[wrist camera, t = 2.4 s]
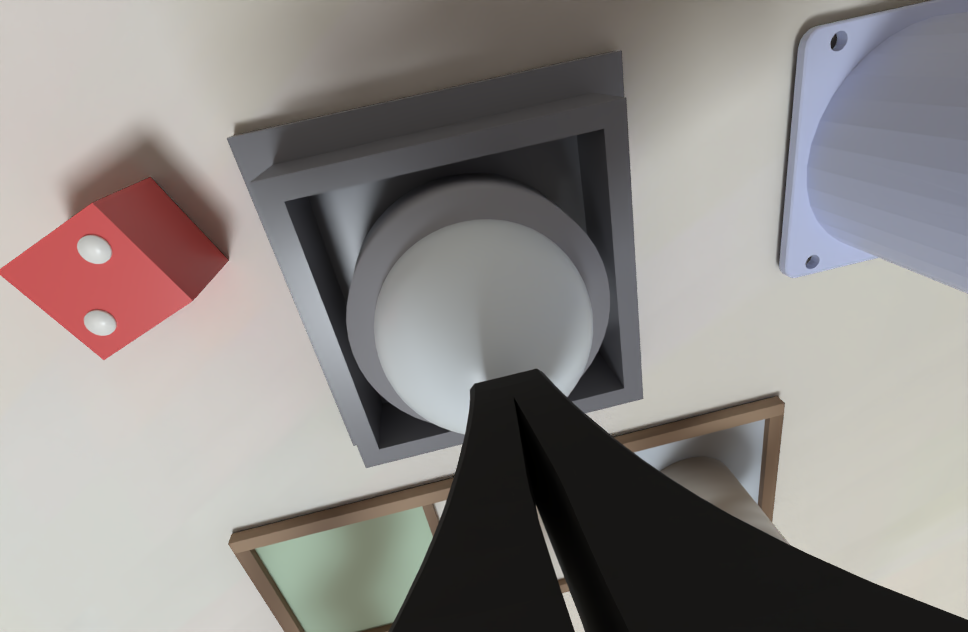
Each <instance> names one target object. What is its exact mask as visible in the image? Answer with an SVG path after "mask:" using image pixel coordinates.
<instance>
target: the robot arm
mask: <svg viewBox="0 0 968 632" xmlns="http://www.w3.org/2000/svg"><path fill="white" fill-rule="evenodd" d="M835 33H836V35H837V42H836V45H835V46H834V48H833V49H831V45H830V42H831V39H832V37H833V36H834V35H835ZM810 256H812V257H811V260H810V261H809V262H808V263H807V264H805V263H806V261H807V259H808V258H809V257H810ZM875 258H881V259H884V260H886V261H889V262H891V263H894V264H896V265H899V266H901V267H904V268H906V269H908V270H911V271H913V272H916V273H918V274H921V275H923V276H926V277H928V278H931V279H933V280H936V281H938V282H941V283H943V284H945V285H948V286H950V287H953V288H955V289H958V290H960V291H963V292H965V293H968V0H931V1H926V2H922V3H917V4H913V5H908V6H904V7H899V8H895V9H890V10H886V11H881V12H877V13H872V14H868V15H863V16H859V17H854V18H850V19H846V20H841V21H837V22H832V23H828V24H823V25H819V26H815V27H813V28H811V29H809V30H808V31H807V32H806V33H805V34H804V35H803V37H802V39H801V40H800V43H799V47H798V55H797V66H796V78H795V89H794V101H793V112H792V124H791V135H790V147H789V158H788V170H787V181H786V193H785V204H784V216H783V227H782V239H781V250H780V262H779V267H780V271H781V272H782V273H783V274H785V275H787V276H789V277H791V278H797V277H801V276H805V275H809V274H813V273H817V272H822V271H826V270H830V269H834V268H838V267H842V266H846V265H850V264H854V263H859V262H863V261H867V260H871V259H875ZM536 506H537V509H538V512H539V514H540V517H541V519H542V522H543V524H544V527H545V529H546V532H547V535H548V537H549V540H550V542H551V545H552V547H553V550H554V552H555V555H556V557H557V560H558V563H559V565H560V568H561V570H562V573H563V575H564V578H565V580H566V583H567V585H568V588H569V590H570V593H571V595H572V598H573V601H574V603H575V606H576V608H577V611H578V613H579V616H580V618H581V621H582V624H583V627H584V630H585V632H968V620H967V619H964V618H961V617H959V616H956V615H954V614H951V613H949V612H946V611H944V610H941V609H938V608H936V607H933V606H931V605H928V604H926V603H923V602H921V601H918V600H915V599H913V598H910V597H908V596H905V595H903V594H900V593H898V592H895V591H892V590H890V589H887V588H885V587H882V586H880V585H877V584H875V583H872V582H870V581H868V580H865V579H863V578H861V577H859V576H856V575H854V574H852V573H850V572H847V571H845V570H843V569H841V568H838V567H836V566H834V565H832V564H830V563H827V562H825V561H823V560H821V559H818V558H816V557H814V556H812V555H809V554H807V553H805V552H803V551H801V550H799V549H797V548H795V547H793V546H791V545H789V544H787V543H785V542H783V541H781V540H779V539H777V538H775V537H773V536H771V535H769V534H768V533H766V532H764V531H762V530H760V529H758V528H756V527H754V526H752V525H750V524H748V523H746V522H744V521H742V520H740V519H738V518H736V517H734V516H732V515H731V514H729V513H727V512H725V511H724V510H722V509H720V508H718V507H717V506H715V505H713V504H712V503H710V502H708V501H706V500H705V499H703V498H701V497H700V496H698V495H696V494H695V493H693V492H691V491H690V490H688V489H687V488H685V487H683V486H682V485H680V484H679V483H677V482H675V481H674V480H672V479H671V478H669V477H668V476H666V475H665V474H663V473H662V472H660V471H659V470H657V469H656V468H654V467H653V466H652V465H650V464H649V463H647V462H646V461H644V460H643V459H642V458H640V457H639V456H638V455H636V454H635V453H634V452H632V451H631V450H629V449H628V448H627V447H625V446H624V445H623V444H621V443H620V442H619V441H618V440H616V439H615V438H614V437H612V436H611V435H610V434H609V433H607V432H606V431H605V430H604V429H603V428H602V427H600V426H599V425H598V424H597V423H596V422H594V421H593V420H592V419H591V418H590V417H588V416H587V415H586V414H585V413H584V412H583V411H582V410H580V409H579V408H578V407H577V406H576V405H575V404H574V403H573V402H572V401H571V400H570V399H569V398H567V397H566V396H565V395H564V394H563V393H562V392H561V391H560V390H559V389H558V388H557V387H556V386H555V385H554V384H553V383H552V382H551V380H550V379H549V378H548V377H547V376H546V375H545V374H544V373H543V372H542V371H540V370H539V369H532V370H528V371H524V372H520V373H516V374H512V375H508V376H504V377H500V378H495V379H491V380H487V381H483V382H479V383H475V384H474V385H473V386H472V387H471V389H470V405H469V414H468V420H467V426H466V432H465V436H464V440H463V445H462V449H461V453H460V457H459V461H458V465H457V469H456V472H455V475H454V478H453V482H452V485H451V488H450V491H449V494H448V497H447V500H446V504H445V507H444V509H443V512H442V515H441V518H440V520H439V523H438V526H437V528H436V531H435V533H434V536H433V538H432V541H431V543H430V545H429V548H428V550H427V553H426V555H425V557H424V560H423V562H422V564H421V566H420V569H419V571H418V573H417V575H416V577H415V579H414V581H413V583H412V585H411V587H410V590H409V592H408V594H407V596H406V598H405V600H404V602H403V604H402V606H401V608H400V610H399V612H398V614H397V616H396V618H395V620H394V622H393V624H392V626H391V628H390V629H389V631H388V632H575V631H574V628H573V625H572V622H571V619H570V616H569V613H568V610H567V607H566V604H565V601H564V598H563V595H562V592H561V589H560V586H559V582H558V579H557V576H556V573H555V570H554V567H553V564H552V561H551V557H550V554H549V551H548V548H547V545H546V542H545V539H544V535H543V532H542V529H541V526H540V523H539V519H538V514H537V509H536Z"/></svg>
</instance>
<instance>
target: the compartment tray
mask: <svg viewBox="0 0 968 632" xmlns="http://www.w3.org/2000/svg"><path fill="white" fill-rule="evenodd" d="M784 407H785V403H784V402H783V401H782V400H781V399H780V398H779V397H777V396H775V397H771V398H767V399H763V400H759V401H756V402H752V403H748V404H744V405H740V406H736V407H732V408H728V409H724V410H720V411H716V412H712V413H708V414H704V415H700V416H696V417H692V418H688V419H684V420H680V421H676V422H672V423H668V424H664V425H660V426H656V427H653V428H649V429H645V430H641V431H637V432H633V433H629V434H625V435H621V436H617V437H614V438H615V439H616V440H618V441H619V442H620V443H621V444H623V445H624V446H625V447H627V448H628V449H629V450H631V451H632V452H634V453H635V454H636V455H638V456H639V457H640V458H642V459H643V460H644V461H646V462H647V463H649V464H650V465H652V466H653V467H654V468H656V469H657V470H659V471H661V470H663V469H664V468H666V467H667V466H669V465H671V464H673V463H675V462H678V461H680V460H684V459H687V458H692V457H710V458H714V459H717V460H719V461H721V462H722V463H724V464H725V465H726V466H727V467H728V468H729V470H730V471H731V472H732V473H733V475H734V476H735V477H736V478H737V480H738V481H739V482H740V483H741V485H742V486H743V487H744V488H745V490H746V491H747V492H748V493H749V495H750V496H751V497H752V498H753V500H754V501H755V502H756V503H757V504H758V506H759V507H760V508H761V509H762V511H763V512H764V513H765V514H766V516H767V517H768V518H769V519H770V521H771V522H772V518H773V509H774V500H775V490H776V481H777V472H778V462H779V453H780V444H781V434H782V425H783V416H784ZM452 482H453V478H450V479H447V480H443V481H439V482H435V483H431V484H427V485H423V486H419V487H415V488H411V489H407V490H403V491H399V492H395V493H391V494H387V495H383V496H379V497H375V498H371V499H367V500H363V501H359V502H355V503H351V504H347V505H344V506H340V507H336V508H332V509H328V510H324V511H320V512H316V513H312V514H308V515H304V516H300V517H296V518H292V519H288V520H284V521H280V522H276V523H272V524H268V525H264V526H260V527H256V528H252V529H248V530H244V531H241V532H237V533H233V534H232V535H231V538H230V540H229V543H228V545H229V546H230V548H231V549H232V551H233V552H234V554H235V555H236V557H237V559H238V560H239V562H240V563H241V565H242V566H243V568H244V569H245V571H246V573H247V574H248V576H249V577H250V579H251V580H252V582H253V583H254V585H255V587H256V588H257V590H258V591H259V593H260V594H261V596H262V597H263V599H264V601H265V602H266V604H267V605H268V607H269V608H270V610H271V611H272V613H273V615H274V616H275V618H276V619H277V621H278V622H279V624H280V625H281V627H282V629H283V630H284V632H388V631H389V629H390V628H391V626H392V624H393V622H394V620H395V618H396V616H397V614H398V612H399V610H400V608H401V606H402V604H403V602H404V600H405V598H406V596H407V594H408V592H409V590H410V587H411V585H412V583H413V581H414V579H415V577H416V575H417V573H418V571H419V569H420V566H421V564H422V562H423V560H424V557H425V555H426V553H427V550H428V548H429V545H430V543H431V541H432V538H433V536H434V533H435V531H436V528H437V526H438V523H439V520H440V518H441V515H442V512H443V509H444V507H445V504H446V500H447V497H448V494H449V491H450V488H451V485H452ZM536 509H537V506H536ZM537 514H538V519H539V523H540V526H541V529H542V532H543V535H544V539H545V542H546V545H547V548H548V551H549V554H550V557H551V561H552V564H553V567H554V570H555V573H556V576H557V579H558V582H559V586H560V589H561V592H562V593H564V592H568V591H570V590H569V588H568V585H567V583H566V580H565V578H564V575H563V573H562V570H561V568H560V565H559V563H558V560H557V557H556V555H555V552H554V550H553V547H552V545H551V542H550V540H549V537H548V535H547V532H546V529H545V527H544V524H543V522H542V519H541V517H540V514H539V512H538V509H537Z"/></svg>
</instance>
